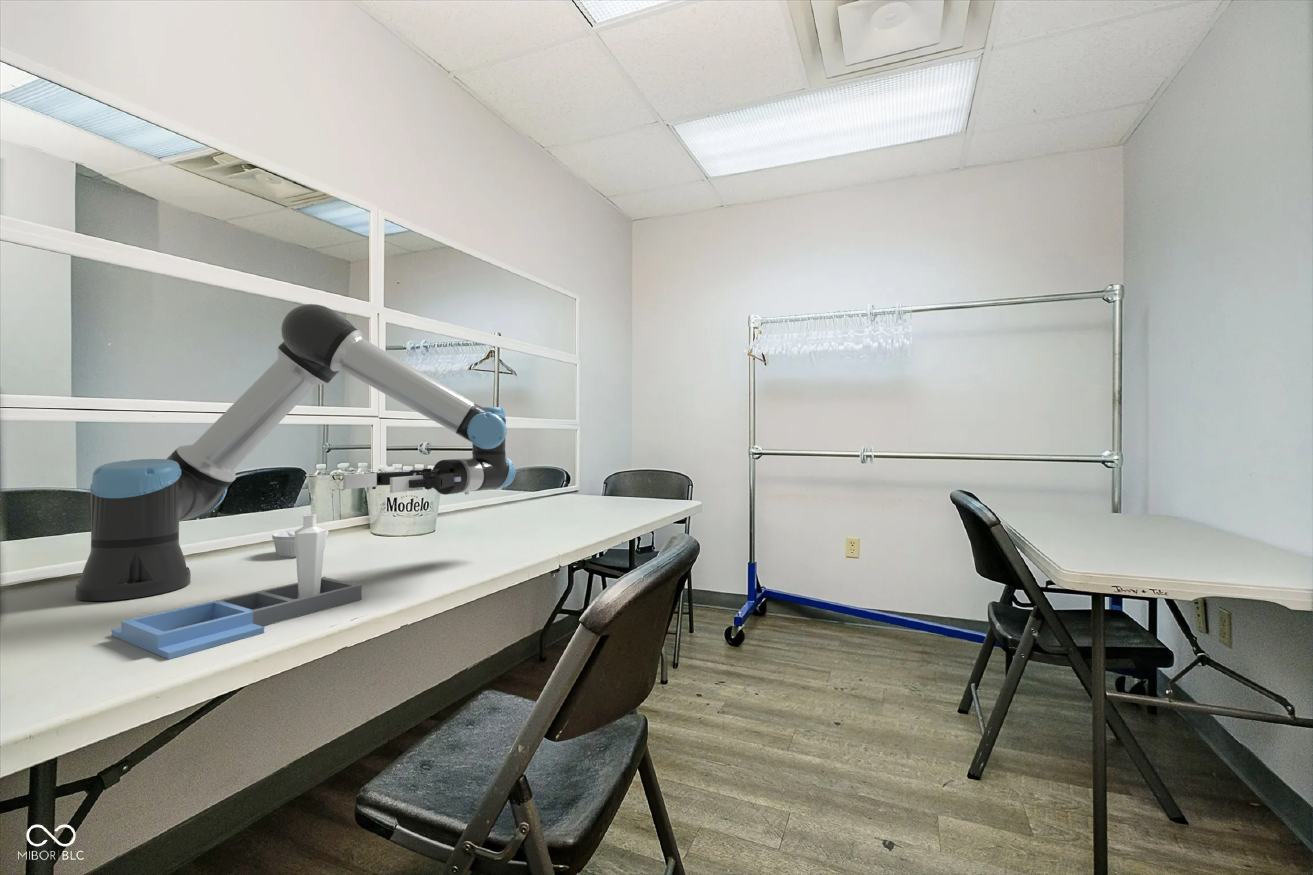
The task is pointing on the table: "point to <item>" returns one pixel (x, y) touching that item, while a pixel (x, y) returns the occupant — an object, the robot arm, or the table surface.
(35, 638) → the table surface
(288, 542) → the ramekin
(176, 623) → the compartment sorting tray
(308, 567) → the perfume bottle
